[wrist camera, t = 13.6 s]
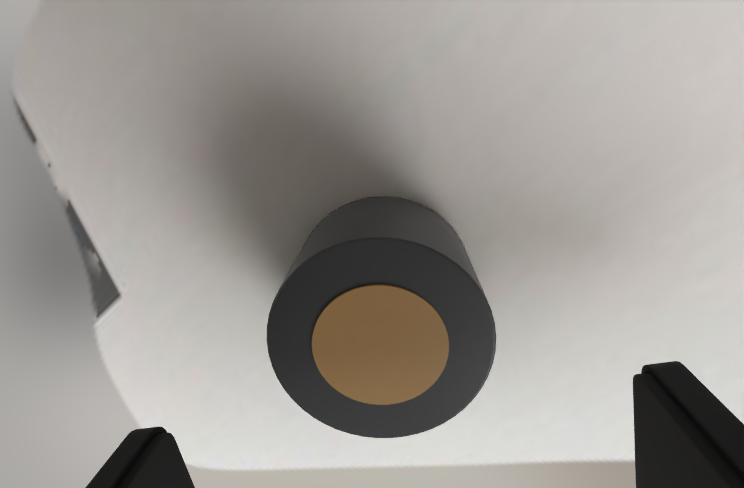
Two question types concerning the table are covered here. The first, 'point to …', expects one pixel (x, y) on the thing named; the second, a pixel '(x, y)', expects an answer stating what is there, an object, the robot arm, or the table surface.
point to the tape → (382, 321)
